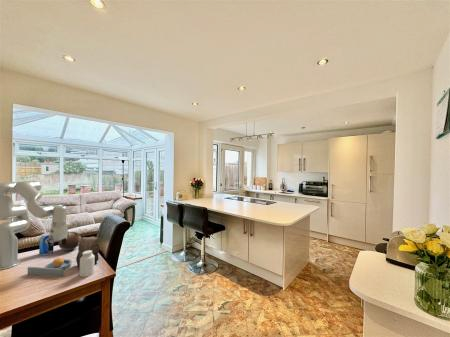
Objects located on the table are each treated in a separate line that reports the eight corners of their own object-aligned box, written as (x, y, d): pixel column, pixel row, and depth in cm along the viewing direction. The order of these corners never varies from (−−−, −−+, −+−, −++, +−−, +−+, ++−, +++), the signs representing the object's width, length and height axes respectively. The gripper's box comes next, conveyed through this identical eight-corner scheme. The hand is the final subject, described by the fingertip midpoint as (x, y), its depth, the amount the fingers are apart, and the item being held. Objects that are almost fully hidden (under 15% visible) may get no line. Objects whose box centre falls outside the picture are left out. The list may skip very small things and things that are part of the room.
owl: (75, 265, 136) (76, 237, 136) (95, 259, 146) (96, 233, 146) (79, 271, 128) (80, 242, 128) (100, 264, 137) (101, 237, 137)
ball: (58, 268, 129) (58, 260, 129) (50, 268, 129) (50, 259, 129) (66, 264, 135) (66, 256, 135) (58, 264, 135) (58, 255, 135)
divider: (27, 274, 123) (27, 267, 123) (29, 273, 124) (29, 266, 124) (61, 276, 122) (61, 269, 122) (62, 275, 123) (62, 268, 123)
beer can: (44, 256, 148) (45, 236, 148) (36, 255, 150) (36, 235, 150) (56, 252, 156) (56, 233, 156) (48, 250, 158) (48, 232, 158)
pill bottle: (77, 278, 120) (78, 255, 120) (81, 272, 127) (82, 250, 127) (92, 275, 123) (93, 253, 123) (95, 269, 130) (95, 248, 131)
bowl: (38, 272, 125) (38, 269, 125) (58, 262, 139) (58, 259, 140) (57, 274, 124) (57, 270, 124) (76, 263, 139) (76, 260, 139)
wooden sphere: (53, 252, 155) (53, 234, 155) (70, 245, 169) (70, 229, 170) (69, 254, 153) (69, 236, 153) (85, 246, 168) (85, 230, 168)
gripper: (51, 227, 123) (50, 253, 123) (74, 220, 140) (73, 243, 140) (41, 226, 124) (39, 252, 124) (65, 219, 141) (64, 242, 141)
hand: (57, 247), depth 132 cm, fingers open, 9 cm apart
